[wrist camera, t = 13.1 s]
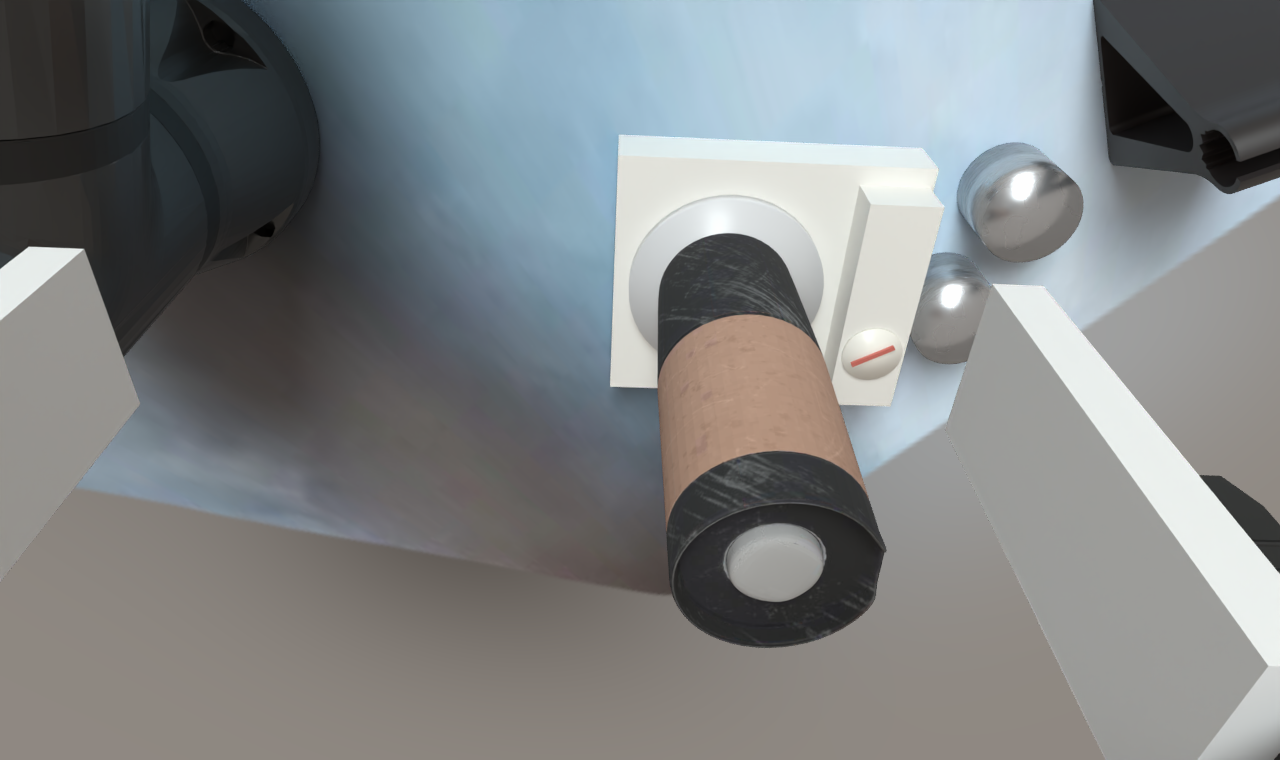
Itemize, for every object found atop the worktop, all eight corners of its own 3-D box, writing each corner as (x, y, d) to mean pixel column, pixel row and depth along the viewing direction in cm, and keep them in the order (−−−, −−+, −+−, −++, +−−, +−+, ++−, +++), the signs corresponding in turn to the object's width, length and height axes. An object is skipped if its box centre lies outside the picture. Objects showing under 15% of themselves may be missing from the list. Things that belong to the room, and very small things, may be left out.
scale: (611, 358, 52) (609, 415, 48) (619, 134, 44) (617, 176, 40) (868, 367, 53) (891, 424, 48) (922, 148, 45) (956, 191, 40)
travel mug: (623, 293, 45) (619, 581, 29) (731, 197, 42) (794, 459, 26) (719, 375, 48) (764, 678, 32) (825, 292, 45) (936, 579, 29)
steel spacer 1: (886, 325, 51) (903, 362, 48) (905, 250, 48) (925, 284, 45) (967, 328, 51) (990, 365, 48) (991, 254, 49) (1017, 288, 45)
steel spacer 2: (946, 227, 48) (969, 260, 44) (971, 140, 45) (997, 168, 41) (1034, 231, 48) (1063, 264, 44) (1064, 144, 45) (1098, 172, 42)
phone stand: (1228, 119, 44) (1399, 216, 34) (1108, 162, 45) (1239, 266, 36) (1226, -59, 39) (1425, -6, 30) (1092, -6, 41) (1239, 61, 31)
